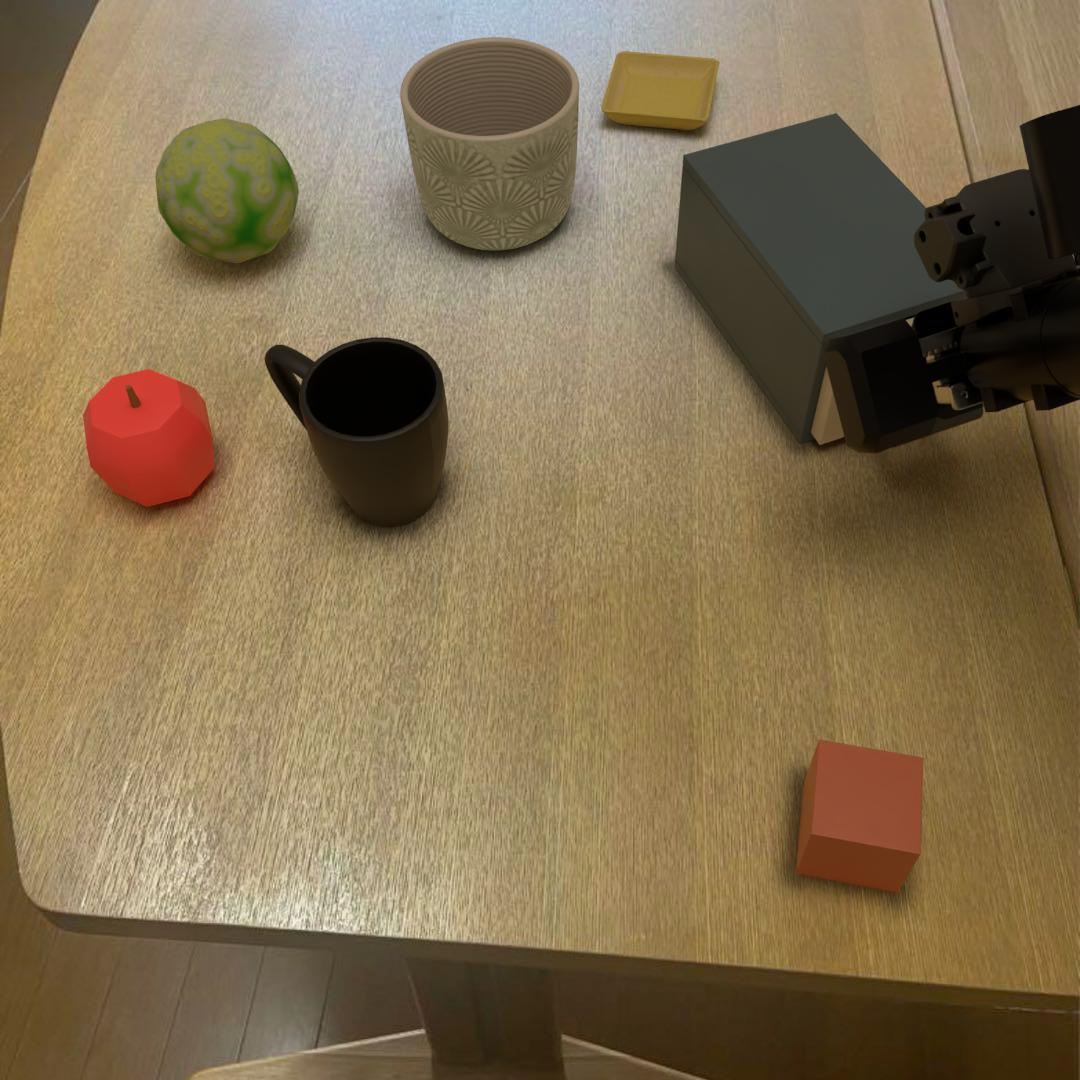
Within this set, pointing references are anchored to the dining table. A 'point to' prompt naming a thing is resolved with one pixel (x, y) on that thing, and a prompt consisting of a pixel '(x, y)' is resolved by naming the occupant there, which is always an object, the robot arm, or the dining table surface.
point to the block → (861, 816)
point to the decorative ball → (226, 190)
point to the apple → (149, 437)
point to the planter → (493, 139)
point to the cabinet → (799, 252)
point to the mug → (371, 422)
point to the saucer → (660, 90)
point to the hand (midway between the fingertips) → (913, 357)
